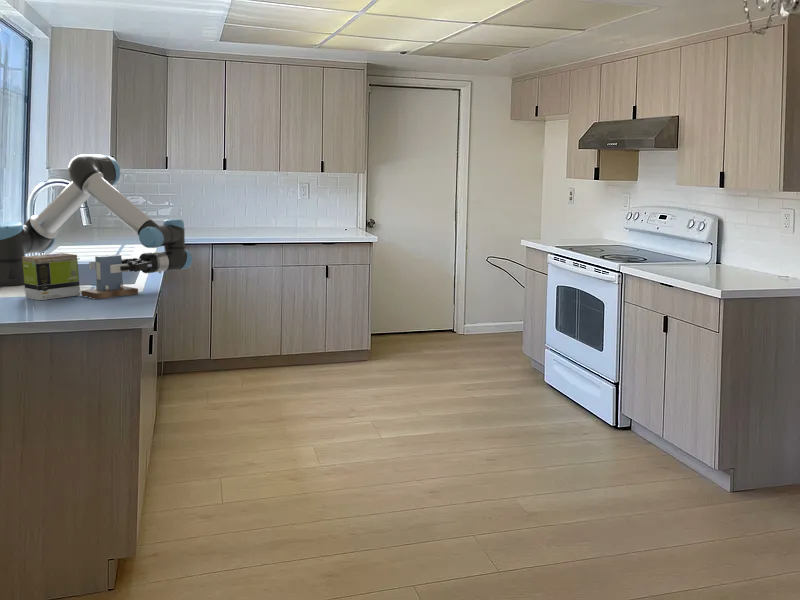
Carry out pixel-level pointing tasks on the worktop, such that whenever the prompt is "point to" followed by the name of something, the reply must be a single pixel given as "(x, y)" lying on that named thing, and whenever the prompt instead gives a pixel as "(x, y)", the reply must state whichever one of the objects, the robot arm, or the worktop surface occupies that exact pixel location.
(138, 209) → the robot arm
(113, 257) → the block
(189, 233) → the worktop surface
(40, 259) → the tea box
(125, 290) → the dock
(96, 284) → the dock pins
